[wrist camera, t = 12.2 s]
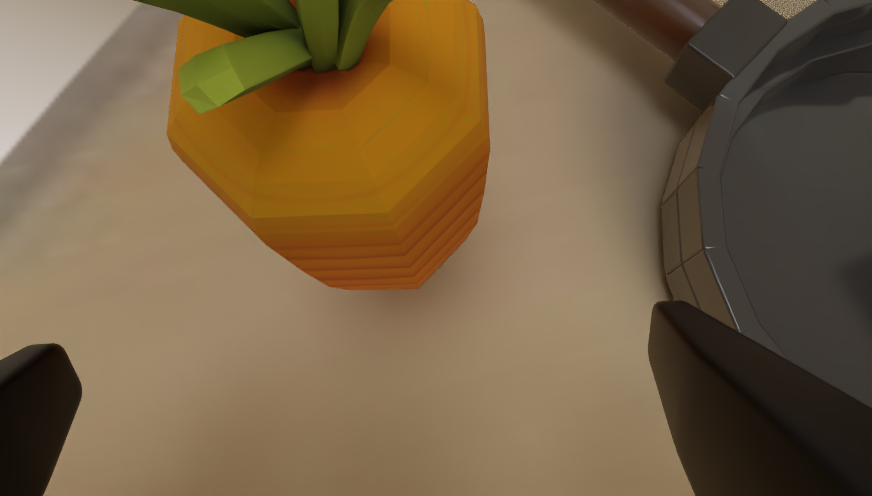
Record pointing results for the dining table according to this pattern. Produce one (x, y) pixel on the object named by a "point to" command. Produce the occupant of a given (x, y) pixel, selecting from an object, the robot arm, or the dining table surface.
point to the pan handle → (701, 38)
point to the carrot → (338, 128)
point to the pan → (785, 198)
